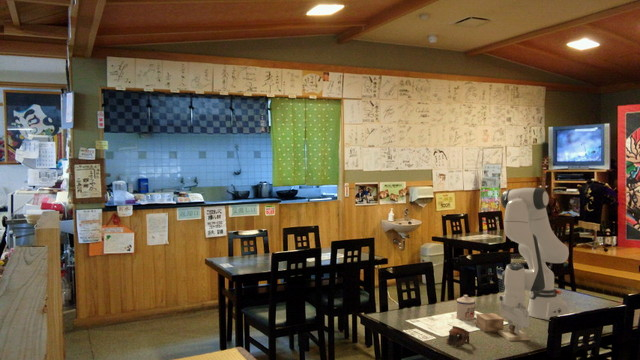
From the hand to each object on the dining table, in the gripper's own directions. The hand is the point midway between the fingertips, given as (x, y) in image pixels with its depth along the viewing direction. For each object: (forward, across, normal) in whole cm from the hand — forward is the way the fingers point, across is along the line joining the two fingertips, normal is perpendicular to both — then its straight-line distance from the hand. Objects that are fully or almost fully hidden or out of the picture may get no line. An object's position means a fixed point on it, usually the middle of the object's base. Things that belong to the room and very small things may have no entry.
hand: (513, 331), depth 224 cm
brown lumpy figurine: (+3, -6, +28) cm, 29 cm away
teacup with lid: (+3, +29, +9) cm, 30 cm away
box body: (+2, +11, +6) cm, 13 cm away
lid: (+2, 0, 0) cm, 2 cm away
